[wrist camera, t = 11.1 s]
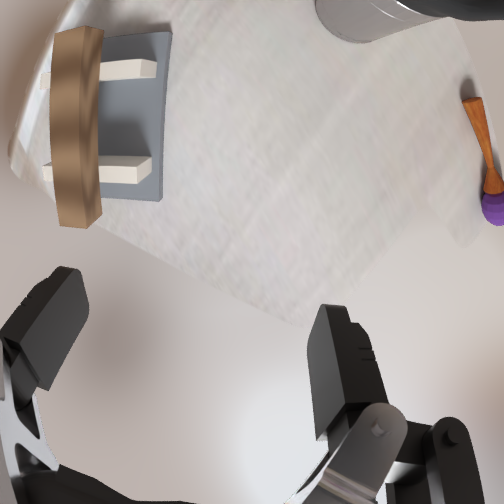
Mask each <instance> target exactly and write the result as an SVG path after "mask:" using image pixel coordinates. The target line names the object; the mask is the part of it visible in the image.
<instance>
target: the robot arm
mask: <svg viewBox="0 0 504 504" xmlns="http://www.w3.org/2000/svg"><path fill="white" fill-rule="evenodd" d="M316 12H317V14H318V17H319V19H320V21H321V22H322V24H323V25H324V26H325V27H326V28H327V29H328V30H329V31H330V32H331V33H332V34H334V35H335V36H337V37H339V38H341V39H343V40H346V41H348V42H353V43H367V42H371V41H374V40H377V39H379V38H382V37H385V36H388V35H390V34H393V33H396V32H399V31H402V30H405V29H408V28H411V27H414V26H417V25H420V24H424V23H427V22H431V21H434V20H437V19H441V18H445V17H452V18H455V19H459V20H464V21H487V20H504V0H316ZM88 314H89V303H88V299H87V295H86V291H85V287H84V283H83V279H82V275H81V272H80V271H79V270H78V269H74V268H69V267H63V266H59V267H57V268H56V269H55V271H54V272H53V273H52V274H51V276H49V277H48V278H46V279H44V280H43V281H41V282H40V283H38V284H37V285H35V286H34V287H33V289H32V290H31V291H30V292H29V293H28V295H27V298H26V297H25V298H24V300H23V301H22V302H21V305H19V306H18V307H17V308H16V310H15V311H14V312H13V314H12V315H11V316H10V318H9V319H8V320H7V322H6V323H5V324H4V326H3V327H2V328H1V330H0V504H194V503H189V502H183V501H135V500H131V499H129V498H127V497H125V496H124V495H122V494H120V493H118V492H117V491H115V490H113V489H111V488H110V487H108V486H106V485H105V484H103V483H102V482H100V481H98V480H97V479H95V478H93V477H90V476H87V475H85V474H82V473H80V472H77V471H75V470H72V469H70V468H68V467H65V466H63V465H61V464H60V465H59V464H58V462H57V460H56V458H55V456H54V454H53V453H52V451H51V450H50V448H49V446H48V444H47V441H46V437H45V434H44V430H43V426H42V421H41V417H40V412H39V408H38V403H37V398H36V395H35V393H34V391H35V389H36V387H40V388H42V389H44V390H47V391H49V389H50V387H51V385H52V383H53V381H54V379H55V377H56V375H57V373H58V371H59V369H60V367H61V365H62V364H63V362H64V360H65V358H66V356H67V354H68V352H69V351H70V349H71V347H72V345H73V343H74V342H75V340H76V338H77V336H78V334H79V333H80V331H81V329H82V328H83V326H84V324H85V322H86V321H87V318H88ZM307 358H308V367H309V375H310V384H311V393H312V403H313V412H314V423H315V434H316V441H328V448H329V450H328V451H327V452H326V453H325V455H324V456H323V458H322V459H321V460H320V462H319V463H318V464H317V466H316V467H315V468H314V469H313V471H312V472H311V473H310V475H309V476H308V477H307V478H306V480H305V481H304V482H303V483H302V485H301V486H300V487H299V488H298V489H297V491H296V492H295V493H294V494H293V495H292V496H291V497H290V498H289V499H288V500H287V501H286V502H285V503H284V504H378V502H377V501H376V500H375V498H376V495H377V493H378V491H379V489H380V488H381V486H382V484H383V482H385V484H386V495H387V504H485V502H484V496H483V491H482V485H481V480H480V475H479V471H478V466H477V462H476V458H475V454H474V450H473V446H472V443H471V439H470V435H469V432H468V430H467V428H466V426H465V425H464V424H463V423H462V422H461V421H460V420H458V419H456V418H453V417H445V418H442V419H440V420H439V421H438V422H437V423H435V424H434V425H433V426H431V425H426V424H420V423H415V422H411V421H407V420H406V419H405V417H404V415H403V414H402V413H401V411H399V410H398V409H397V408H396V407H394V406H392V405H390V404H389V402H388V399H387V395H386V392H385V388H384V384H383V381H382V378H381V374H380V371H379V368H378V364H377V362H376V361H375V359H376V358H375V355H374V351H372V345H371V342H370V339H369V336H368V334H367V333H366V332H365V330H364V329H363V328H362V327H361V325H360V324H359V323H352V322H351V321H350V318H349V314H348V311H347V308H346V307H345V306H340V305H328V304H322V305H321V306H320V308H319V311H318V313H317V316H316V319H315V322H314V325H313V327H312V330H311V333H310V336H309V339H308V345H307Z"/></svg>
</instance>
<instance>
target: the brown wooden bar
mask: <svg viewBox="0 0 504 504" xmlns="http://www.w3.org/2000/svg"><path fill="white" fill-rule="evenodd" d="M103 35H104V30H100V29H96V28H92V27H88V26H82V27H78V28H74V29H70V30H66V31H62V32H59V33H55V36H54V44H53V53H52V63H51V78H50V145H51V160H52V172H53V181H54V190H55V198H56V205H57V211H58V217H59V223H60V226H65V227H75V228H85V229H87V228H88V227H89V226H90V225H91V224H92V223H93V222H94V221H96V220H97V219H98V218H99V217H100V216H101V215H102V206H101V195H100V181H99V163H98V93H99V75H100V63H101V52H102V43H103Z"/></svg>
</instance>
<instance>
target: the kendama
mask: <svg viewBox="0 0 504 504" xmlns="http://www.w3.org/2000/svg"><path fill="white" fill-rule="evenodd" d="M462 104H463V106H464V108H465V110H466V112H467V115H468V117H469V119H470V121H471V124H472V126H473V129H474V131H475V134H476V136H477V139H478V141H479V144H480V147H481V149H482V152H483V155H484V158H485V161H486V164H487V167H488V168H487V173H486V179H485V183H484V188H483V190H484V192H486V193H485V194H484V196H483V200H482V205H481V206H482V212H483V214H484V216H485V218H486V219H487V221H489V222H490V223H492V224H493V225H496V226H502V225H504V181H503V180H502V178H501V177H500V175H499V173H498V172H497V170H496V169H495V167H494V164H493V156H492V148H491V142H490V136H489V130H488V125H487V120H486V115H485V110H484V106H483V101H482V98H481V97H474V98H469V99H467V100H464V101H462Z"/></svg>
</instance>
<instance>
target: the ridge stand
mask: <svg viewBox="0 0 504 504" xmlns="http://www.w3.org/2000/svg"><path fill="white" fill-rule="evenodd" d="M171 41H172V33H171V32H169V31H168V32H152V33H141V34H131V35H123V36H116V37H109V38H103V43H102V52H101V63H100V75H99V93H98V163H99V181H100V195H101V198H116V199H130V200H143V201H156V202H159V201H160V200H161V199H162V198H163V141H164V120H165V104H166V90H167V78H168V68H169V58H170V49H171ZM50 78H51V72H48V73H44V74H41V80H40V90H41V89H48V88H50ZM42 167H43V176H44V181H53V172H52V162H50V163H48V164H46V165H44V166H42Z"/></svg>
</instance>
